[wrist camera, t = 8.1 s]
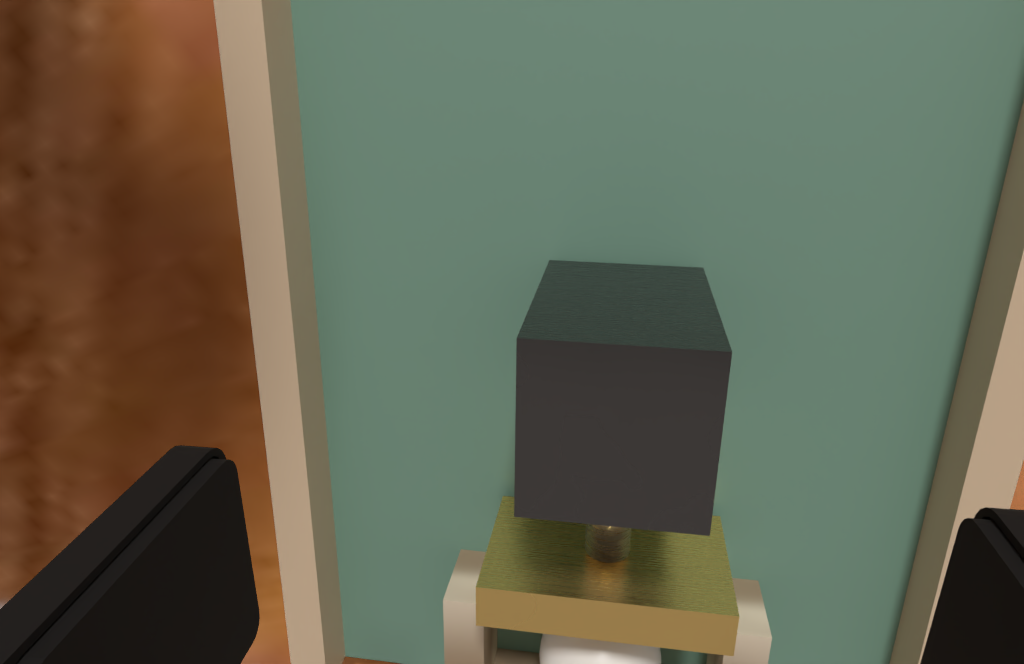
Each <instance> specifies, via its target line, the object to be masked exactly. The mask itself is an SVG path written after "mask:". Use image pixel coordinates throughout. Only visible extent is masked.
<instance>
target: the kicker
mask: <svg viewBox="0 0 1024 664" xmlns="http://www.w3.org/2000/svg"><path fill="white" fill-rule="evenodd" d="M731 359H732V350H731V347H730V344H729V341H728V338H727V335H726V332H725V329H724V326H723V323H722V320H721V317H720V315H719V312H718V309H717V306H716V303H715V300H714V297H713V294H712V291H711V288H710V285H709V283H708V280H707V277H706V274H705V271H704V268H702V267H681V266H661V265H641V264H620V263H600V262H580V261H560V260H549V262H548V265H547V267H546V269H545V272H544V274H543V276H542V279H541V281H540V284H539V286H538V288H537V291H536V293H535V295H534V298H533V300H532V303H531V305H530V307H529V310H528V312H527V315H526V317H525V319H524V322H523V324H522V326H521V329H520V331H519V334H518V336H517V344H516V414H515V485H514V497H511V496H503V497H502V501H501V504H500V507H499V511H498V514H497V517H496V521H495V524H494V527H493V531H492V534H491V537H490V541H489V544H488V548H487V551H486V554H485V558H484V561H483V564H482V568H481V571H480V574H479V578H478V581H477V584H476V626H484V627H492V628H500V629H509V630H517V631H525V632H534V633H542V634H551V635H559V636H567V637H576V638H584V639H592V640H601V641H609V642H618V643H626V644H634V645H643V646H651V647H659V648H668V649H676V650H684V651H693V652H701V653H710V654H718V655H726V656H734V651H735V644H736V637H737V630H738V624H739V612H738V606H737V601H736V596H735V591H734V586H733V580H732V575H731V570H730V565H729V560H728V554H727V549H726V544H725V539H724V534H723V528H722V523H721V518H720V516H713V515H712V514H713V506H714V498H715V490H716V482H717V473H718V465H719V457H720V449H721V441H722V432H723V424H724V416H725V408H726V400H727V392H728V383H729V375H730V367H731Z"/></svg>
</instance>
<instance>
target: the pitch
mask: <svg viewBox="0 0 1024 664" xmlns="http://www.w3.org/2000/svg"><path fill="white" fill-rule="evenodd" d="M214 9H215V17H216V26H217V34H218V43H219V51H220V60H221V69H222V77H223V86H224V94H225V103H226V111H227V120H228V129H229V137H230V146H231V154H232V163H233V171H234V180H235V189H236V197H237V206H238V214H239V223H240V231H241V240H242V249H243V257H244V266H245V274H246V283H247V291H248V300H249V309H250V317H251V326H252V334H253V343H254V351H255V360H256V369H257V377H258V386H259V394H260V403H261V411H262V420H263V429H264V437H265V446H266V454H267V463H268V471H269V480H270V489H271V497H272V506H273V514H274V523H275V531H276V540H277V549H278V557H279V566H280V574H281V583H282V591H283V600H284V609H285V617H286V626H287V634H288V643H289V651H290V660H291V664H342V663H343V660H344V658H345V656H347V657H355V658H363V659H370V660H378V661H386V662H394V663H401V664H445V659H444V620H443V598H444V596H445V593H446V590H447V587H448V584H449V581H450V579H451V576H452V573H453V570H454V567H455V564H456V562H457V559H458V556H459V553H460V550H461V549H463V550H472V551H482V552H486V551H487V548H488V544H489V541H490V537H491V534H492V531H493V527H494V524H495V521H496V517H497V514H498V511H499V507H500V504H501V501H502V497H503V496H511V497H514V485H515V414H516V344H517V336H518V334H519V331H520V329H521V326H522V324H523V322H524V319H525V317H526V315H527V312H528V310H529V307H530V305H531V303H532V300H533V298H534V295H535V293H536V291H537V288H538V286H539V284H540V281H541V279H542V276H543V274H544V272H545V269H546V267H547V265H548V262H549V260H560V261H580V262H600V263H620V264H641V265H661V266H681V267H702V268H704V271H705V274H706V277H707V280H708V283H709V285H710V288H711V291H712V294H713V297H714V300H715V303H716V306H717V309H718V312H719V315H720V317H721V320H722V323H723V326H724V329H725V332H726V335H727V338H728V341H729V344H730V347H731V350H732V359H731V367H730V375H729V383H728V392H727V400H726V408H725V416H724V424H723V432H722V441H721V449H720V457H719V465H718V473H717V482H716V490H715V498H714V506H713V514H712V515H713V516H720V518H721V523H722V528H723V534H724V539H725V544H726V549H727V554H728V560H729V565H730V570H731V575H732V578H738V579H748V580H757V581H759V586H760V590H761V594H762V598H763V602H764V606H765V610H766V615H767V619H768V623H769V627H770V631H771V635H772V642H771V648H770V654H769V660H768V664H920V663H921V659H922V656H923V652H924V649H925V645H926V642H927V638H928V635H929V631H930V627H931V624H932V620H933V617H934V613H935V610H936V606H937V603H938V599H939V596H940V592H941V589H942V585H943V581H944V578H945V574H946V571H947V567H948V564H949V560H950V557H951V553H952V550H953V546H954V543H955V539H956V535H957V532H958V529H959V526H960V524H961V522H962V521H963V520H964V519H966V518H974V517H975V515H976V513H977V512H978V511H979V510H980V509H982V508H985V507H988V508H1001V509H1010V506H1011V502H1012V499H1013V495H1014V492H1015V488H1016V485H1017V481H1018V478H1019V474H1020V471H1021V467H1022V464H1023V460H1024V0H214ZM542 635H543V634H542V633H534V632H525V631H517V630H509V629H500V628H497V648H502V649H510V650H518V651H526V652H534V653H540V643H541V639H542ZM660 651H661V664H706V662H707V654H708V653H701V652H693V651H684V650H676V649H668V648H660Z"/></svg>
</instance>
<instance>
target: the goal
mask: <svg viewBox="0 0 1024 664" xmlns="http://www.w3.org/2000/svg"><path fill="white" fill-rule="evenodd" d="M485 554H486V552H482V551H472V550H463V549H461V550H460V553H459V556H458V559H457V562H456V564H455V567H454V570H453V573H452V576H451V579H450V581H449V584H448V587H447V590H446V593H445V596H444V598H443V620H444V659H445V664H540V657H539V653H534V652H526V651H518V650H510V649H502V648H497V628H492V627H484V626H476V584H477V581H478V578H479V574H480V571H481V568H482V564H483V561H484V558H485ZM732 580H733V586H734V591H735V596H736V601H737V606H738V612H739V624H738V630H737V637H736V644H735V651H734V656H726V655H718V654H710V653H708V654H707V662H706V664H768V660H769V654H770V648H771V642H772V635H771V631H770V627H769V623H768V619H767V615H766V610H765V606H764V602H763V598H762V594H761V590H760V586H759V581H757V580H748V579H738V578H732Z"/></svg>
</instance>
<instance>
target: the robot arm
mask: <svg viewBox="0 0 1024 664" xmlns="http://www.w3.org/2000/svg"><path fill="white" fill-rule="evenodd" d="M258 626H259V607H258V601H257V594H256V588H255V582H254V575H253V569H252V562H251V556H250V550H249V543H248V537H247V530H246V524H245V518H244V511H243V505H242V498H241V492H240V486H239V479H238V473H237V468H236V465H235V464H234V462H233V461H231V460H226V457H225V455H224V453H223V452H222V450H220V449H218V448H208V447H195V446H182V445H181V446H175V447H173V448H172V449H170V450H169V451H168V452H167V453H166V454H165V455H164V456H163V457H162V458H161V459H160V460H159V461H157V462H156V463H155V464H154V465H153V466H152V467H151V468H150V469H149V470H148V471H147V472H146V473H145V474H144V475H143V476H142V477H140V478H139V479H138V480H137V481H136V482H135V483H134V484H133V485H132V486H131V487H130V488H129V489H128V490H127V491H126V492H124V493H123V494H122V495H121V496H120V497H119V498H118V499H117V500H116V501H115V502H114V503H113V504H112V505H111V506H110V507H109V508H107V509H106V510H105V511H104V512H103V513H102V514H101V515H100V516H99V517H98V518H97V519H96V520H95V521H94V522H93V523H91V524H90V525H89V526H88V527H87V528H86V529H85V530H84V531H83V532H82V533H81V534H80V535H79V536H78V537H77V538H75V539H74V540H73V541H72V542H71V543H70V544H69V545H68V546H67V547H66V548H65V549H64V550H63V551H62V552H61V553H60V554H58V555H57V556H56V557H55V558H54V559H53V560H52V561H51V562H50V563H49V564H48V565H47V566H46V567H45V568H44V569H42V570H41V571H40V572H39V573H38V574H37V575H36V576H35V577H34V578H33V579H32V580H31V581H30V582H29V583H28V584H27V585H25V586H24V587H23V588H22V589H21V590H20V591H19V592H18V593H17V594H16V595H15V596H14V597H13V598H12V599H11V600H9V601H8V602H7V603H6V604H5V605H4V606H3V607H2V608H1V609H0V664H241V662H242V660H243V658H244V657H245V655H246V653H247V652H248V650H249V648H250V647H251V645H252V643H253V641H254V639H255V637H256V634H257V631H258ZM920 664H1024V510H1014V509H1001V508H988V507H985V508H982V509H980V510H979V511H978V512H977V513H976V515H975V517H974V518H966V519H964V520H963V521H962V522H961V524H960V526H959V529H958V532H957V535H956V539H955V543H954V546H953V550H952V553H951V557H950V560H949V564H948V567H947V571H946V574H945V578H944V581H943V585H942V589H941V592H940V596H939V599H938V603H937V606H936V610H935V613H934V617H933V620H932V624H931V627H930V631H929V635H928V638H927V642H926V645H925V649H924V652H923V656H922V659H921V663H920Z"/></svg>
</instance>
